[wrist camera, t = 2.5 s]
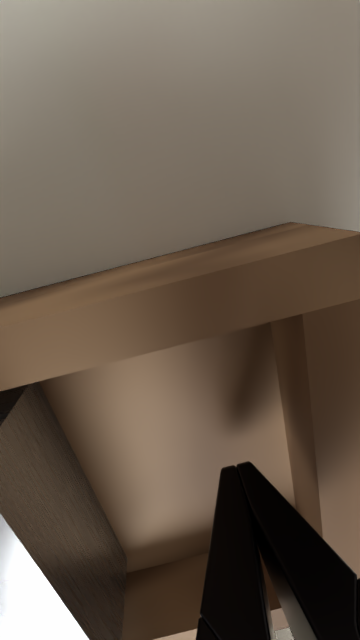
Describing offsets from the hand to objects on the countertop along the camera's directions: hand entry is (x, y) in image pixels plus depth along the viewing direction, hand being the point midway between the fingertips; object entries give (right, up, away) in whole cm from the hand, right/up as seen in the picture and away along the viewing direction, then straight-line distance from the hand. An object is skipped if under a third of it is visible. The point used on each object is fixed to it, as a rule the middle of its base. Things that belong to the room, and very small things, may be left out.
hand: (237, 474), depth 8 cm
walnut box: (-6, -1, +2) cm, 6 cm away
